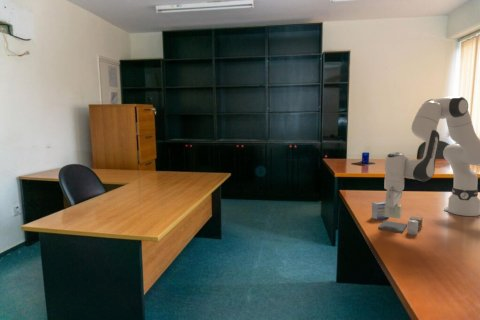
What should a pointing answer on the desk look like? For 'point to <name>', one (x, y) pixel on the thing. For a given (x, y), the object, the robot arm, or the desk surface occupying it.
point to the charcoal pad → (392, 226)
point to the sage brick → (396, 212)
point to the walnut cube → (418, 221)
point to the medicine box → (378, 210)
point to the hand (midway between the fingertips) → (393, 212)
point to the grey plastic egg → (412, 227)
